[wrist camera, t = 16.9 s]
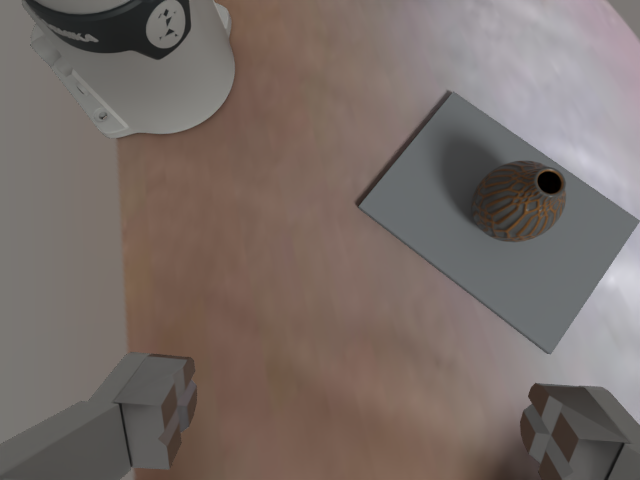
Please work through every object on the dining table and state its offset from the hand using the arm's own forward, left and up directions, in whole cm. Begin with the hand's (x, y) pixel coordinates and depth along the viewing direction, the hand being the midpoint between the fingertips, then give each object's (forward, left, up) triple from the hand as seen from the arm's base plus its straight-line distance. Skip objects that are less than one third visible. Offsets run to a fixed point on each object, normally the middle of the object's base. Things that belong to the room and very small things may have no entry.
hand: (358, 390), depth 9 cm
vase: (+5, +19, -26) cm, 33 cm away
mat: (+5, +19, -27) cm, 33 cm away
